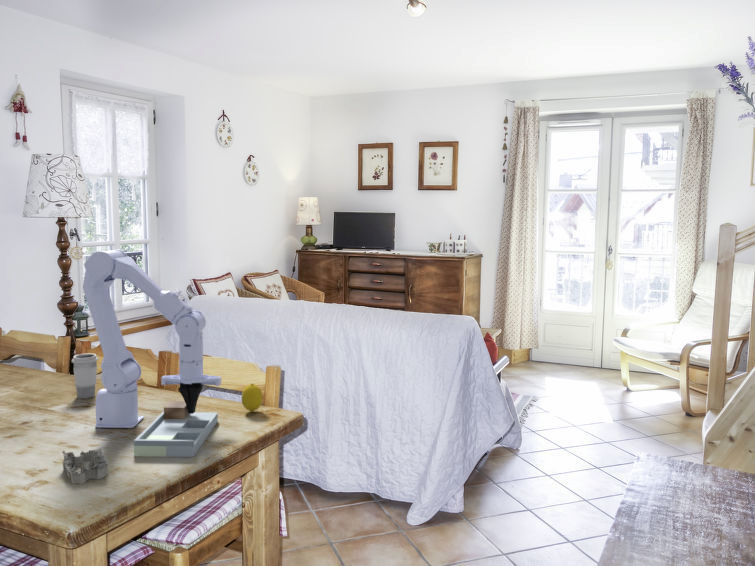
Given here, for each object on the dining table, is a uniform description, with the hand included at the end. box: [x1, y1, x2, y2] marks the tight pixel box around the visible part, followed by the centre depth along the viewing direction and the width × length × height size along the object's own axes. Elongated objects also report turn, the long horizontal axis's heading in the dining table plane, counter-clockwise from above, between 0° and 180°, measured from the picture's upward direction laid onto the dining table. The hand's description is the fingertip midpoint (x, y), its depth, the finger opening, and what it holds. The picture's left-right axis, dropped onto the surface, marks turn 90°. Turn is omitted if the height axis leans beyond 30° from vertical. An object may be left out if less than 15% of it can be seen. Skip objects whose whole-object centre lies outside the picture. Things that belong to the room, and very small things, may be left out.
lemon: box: [241, 383, 263, 413], centre depth 164 cm, size 6×6×8 cm
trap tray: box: [133, 410, 219, 458], centre depth 144 cm, size 13×23×4 cm, turn 2°
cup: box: [71, 352, 99, 400], centre depth 174 cm, size 7×7×12 cm
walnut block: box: [163, 400, 188, 419], centre depth 152 cm, size 5×5×3 cm
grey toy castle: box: [61, 448, 109, 485], centre depth 124 cm, size 11×8×4 cm
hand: (191, 412), depth 152 cm, fingers closed
